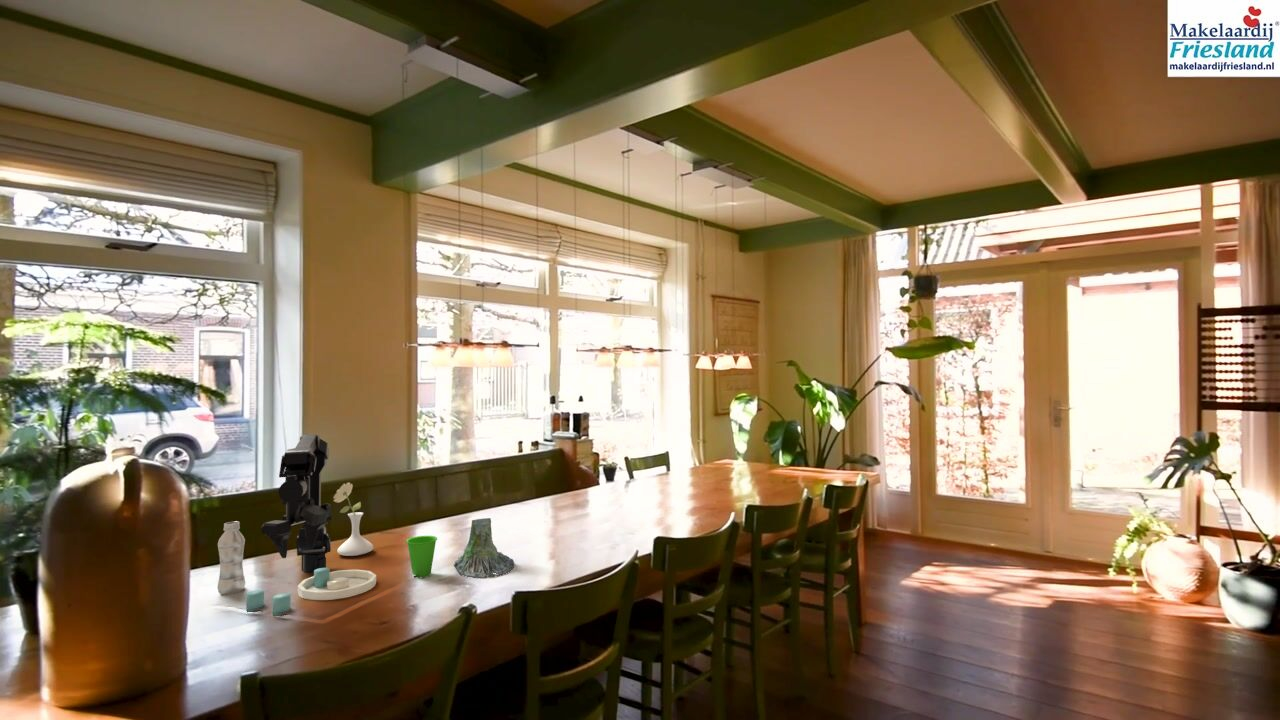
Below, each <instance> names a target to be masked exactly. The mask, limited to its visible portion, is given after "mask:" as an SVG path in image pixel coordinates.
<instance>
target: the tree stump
mask: <svg viewBox="0 0 1280 720" xmlns="http://www.w3.org/2000/svg"><path fill="white" fill-rule="evenodd" d="M491 519H492V518H491V517H490V518H489V517H487V518H479V519H478V518H475V519H472V520H471V524H470V525H471V527H470V530H469V531H470V533H469V537H468V538H469V539H468V542H467V544H466V546H465V548H464V550H463V553H462V555H460V557H458V558H457V559H456V560H455V561H454V564H453V567H454V568H455V569H456V572H457V573H458V574H459V575H460V576H461V575H464V576H463V577H465V576H467V577H466V578H468V577H473V578H472V579H488V578H487V577H490V578H496V577H495V576H497V577H501V576H504V575H503V574H505V575H507V574H509V573H511V572H512V571H513V570H514V568H515V561H514V559H513V558H512V557H511V558H510V557H509V556H508V555H505V554H504V553H503V552H501V551H498V549H497V547H496V545H495V544H494V541H493V536H492V535H493V534H492V533H493V532H492V520H491ZM511 570H512V571H511ZM510 571H511V572H510ZM508 572H509V573H508ZM493 573H496V574H493ZM506 573H507V574H506ZM500 575H501V576H500Z"/></svg>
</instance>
